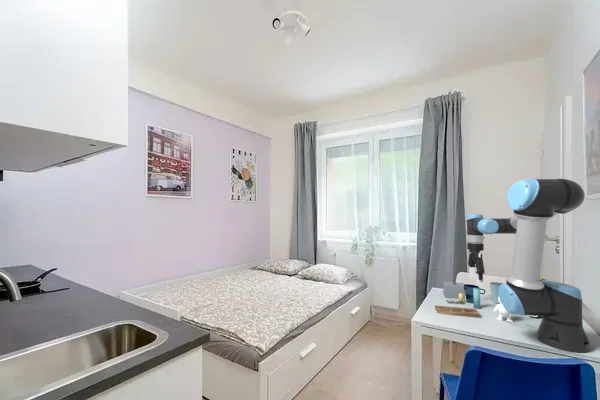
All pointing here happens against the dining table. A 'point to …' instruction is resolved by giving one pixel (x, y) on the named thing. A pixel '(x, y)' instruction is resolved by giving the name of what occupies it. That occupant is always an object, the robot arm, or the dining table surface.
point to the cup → (495, 291)
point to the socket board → (458, 311)
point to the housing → (453, 289)
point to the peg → (476, 298)
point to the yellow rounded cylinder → (457, 301)
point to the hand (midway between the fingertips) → (476, 282)
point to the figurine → (502, 311)
